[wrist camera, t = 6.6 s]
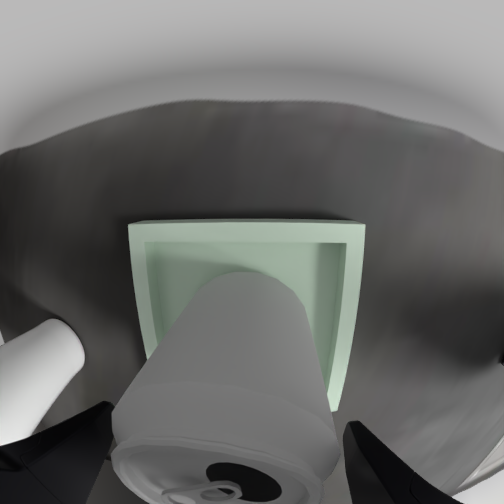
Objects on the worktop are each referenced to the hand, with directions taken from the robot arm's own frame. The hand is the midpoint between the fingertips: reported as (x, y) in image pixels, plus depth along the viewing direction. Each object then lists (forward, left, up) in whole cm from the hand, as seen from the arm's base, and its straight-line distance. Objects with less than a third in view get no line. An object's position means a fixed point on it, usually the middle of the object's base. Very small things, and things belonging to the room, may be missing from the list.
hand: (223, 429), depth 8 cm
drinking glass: (+16, +4, -9) cm, 19 cm away
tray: (0, 0, -9) cm, 9 cm away
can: (0, 0, -9) cm, 9 cm away
